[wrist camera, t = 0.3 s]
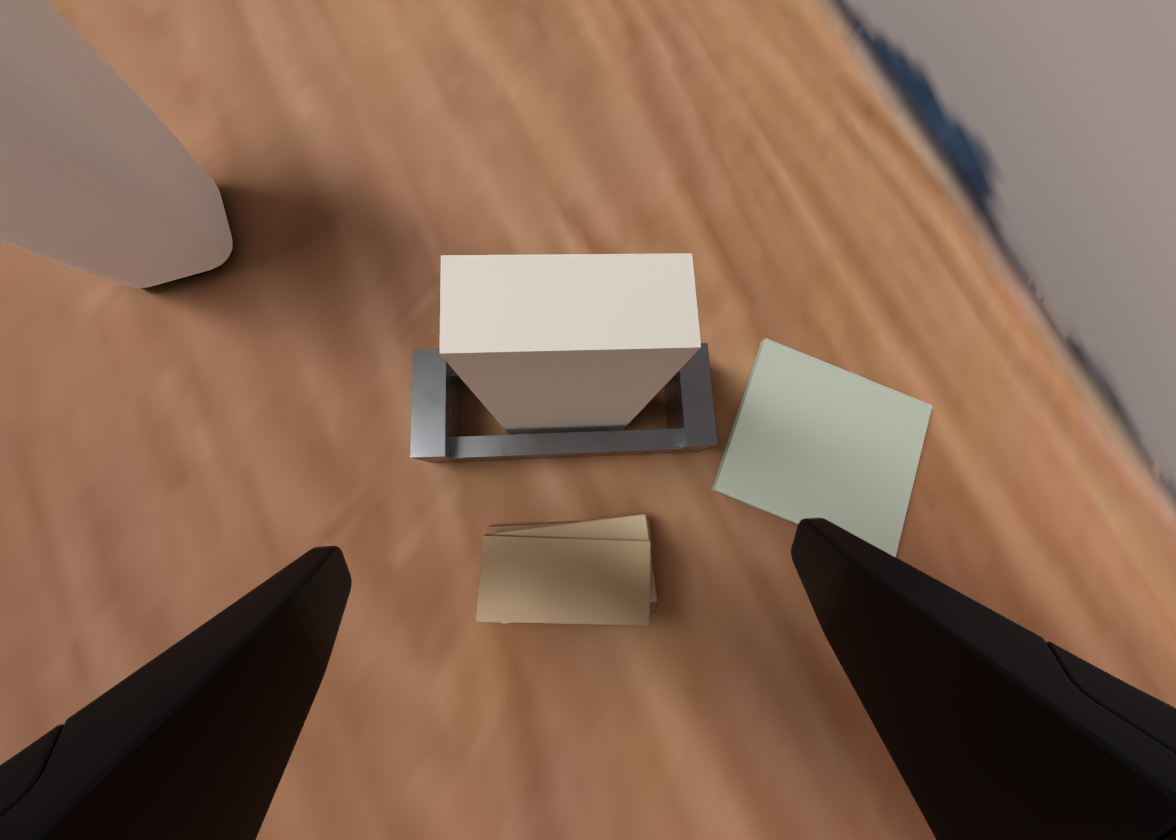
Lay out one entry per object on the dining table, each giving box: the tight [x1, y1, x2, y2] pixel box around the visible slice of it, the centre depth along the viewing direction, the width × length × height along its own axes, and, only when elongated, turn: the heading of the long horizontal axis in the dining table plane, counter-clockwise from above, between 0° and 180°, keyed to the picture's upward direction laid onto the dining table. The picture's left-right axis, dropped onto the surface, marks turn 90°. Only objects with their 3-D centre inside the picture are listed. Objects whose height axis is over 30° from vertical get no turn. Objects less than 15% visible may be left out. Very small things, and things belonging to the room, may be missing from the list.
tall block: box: [440, 254, 701, 435], centre depth 16 cm, size 2×6×13 cm, turn 93°
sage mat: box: [711, 338, 932, 557], centre depth 23 cm, size 9×10×1 cm
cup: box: [0, 0, 233, 288], centre depth 16 cm, size 7×7×15 cm
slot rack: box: [410, 343, 718, 463], centre depth 21 cm, size 5×14×3 cm, turn 93°
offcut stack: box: [476, 514, 657, 626], centre depth 20 cm, size 5×8×2 cm, turn 93°
